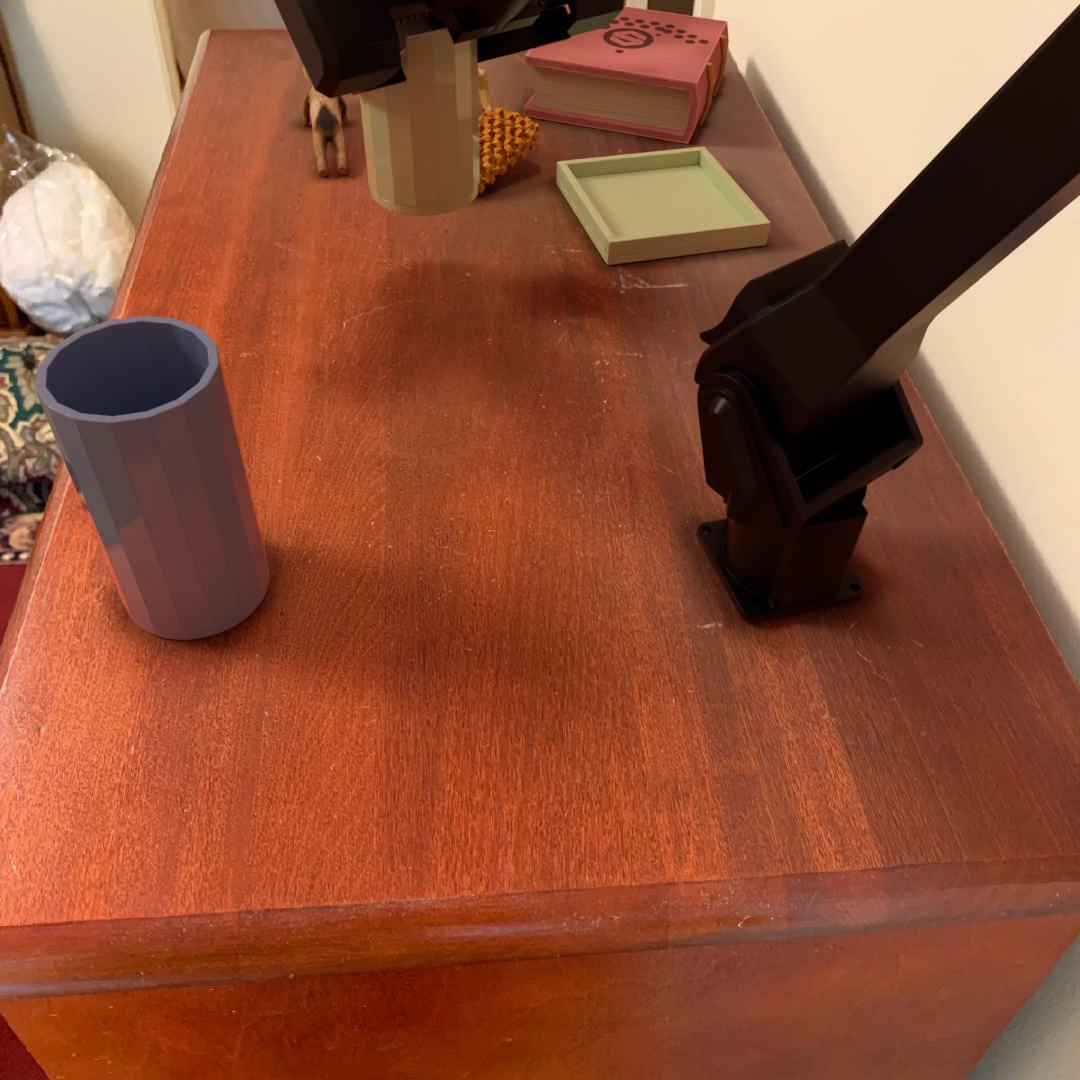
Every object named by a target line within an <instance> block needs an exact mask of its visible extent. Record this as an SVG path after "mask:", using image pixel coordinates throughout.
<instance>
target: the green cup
mask: <svg viewBox="0 0 1080 1080" xmlns="http://www.w3.org/2000/svg"><path fill="white" fill-rule="evenodd" d="M426 15H427V14H426ZM413 19H414V18H413ZM406 20H407V19H406ZM478 64H479V63H478V57H477V39H473V40H469V41H465V42H461V43H457V44H454V43H453V40H452V38H451V36H450V33H449V31H445V32H440V33H436V34H432V35H428V36H424V37H420V38H415V39H411V40H407V41H406V48H405V51H404V52H403V54H402V55H401V67H402V69H403V71H404V74H405V76H406V78H407V80H406V82H403V83H399V84H395V85H392V86H388V87H384V88H380V89H377V90H373V91H369V92H365V93H362V94H358V95H359V104H360V113H361V123H362V124H361V125H362V134H363V144H364V151H365V161H366V173H367V180H368V183H367V184H368V190H369V194H370V196H371V198H372V200H373V201H374V202H375V203H376V204H378V206H380V207H382V208H384V209H386V210H389V211H391V212H394V213H398V214H402V215H408V216H421V217H422V216H423V217H424V216H425V217H426V216H437V215H438V216H439V215H445V214H448V213H449V214H450V213H452V212H455V211H457V210H460V209H463V208H464V207H466V206H468V205H470V204H471V203H472V202H473V201H474V200H475V199H476V198H477V196H478V194H479V182H480V164H479V110H478V68H479V65H478Z"/></svg>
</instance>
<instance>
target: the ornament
mask: <svg viewBox="0 0 1080 1080" xmlns="http://www.w3.org/2000/svg"><path fill="white" fill-rule="evenodd" d="M491 101H492V100H491V92H490V85H489V82H488V77H487V72H486V69H482V68H480V67H478V110H479V164H480V182H479V192H478V194H482V193H483V192H484V191H485V189H486V187H485V184H489V185H490V186H491V185H493V184H494V183H495V181H496V176H498V175H500V176H503V175H504V174H505V173H506V172H507V166H508V167H509V166H510V167H511V168H513V167H514V165H515V164H516V163H517V159H518V158H519V159H521V158H524V157H525V156H526V155H527V149H530V150H532V151H534V150H535V148H536V147H537V145H538V142H537V140H539V139H541V138H542V133H541V132H540V126H539V124H538V123H537V122H534V120H532V119H531V117H527V116H523V115H521V114H520V113H519V112H517V111H514V110H506V109H504V108H503V107H497V106H495V108H494V110H492V102H491ZM513 123H514V124H513Z"/></svg>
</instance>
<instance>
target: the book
mask: <svg viewBox="0 0 1080 1080" xmlns="http://www.w3.org/2000/svg"><path fill="white" fill-rule="evenodd" d="M566 9H567V12H568V14H569V13H570V9H569V7H568V5H567V6H566ZM729 44H730V38H729V27H728V21H727V20H721V19H715V18H708V17H701V16H694V15H687V14H681V13H674V12H668V11H660V10H652V9H647V8H639V7H634V6H633V7H632V6H625V5H624V9H623V10H622V11H621V12H620V13H619V14H618V16H617V17H616V18H615V19H614V20H613V21H612V22H611V23H610V24H609V25H608V26H607V27H605V28H601V29H597V30H593V31H589V32H586V33H582V34H578V35H574V36H572V37H571V38H569V39H567V40H564V41H560V42H556V43H553V44H549V45H545V46H541V47H537V48H534V49H530V50H527V52H526V53H525V54H524V65H527V66H532V69H533V74H534V87H533V89H534V90H533V94H532V96H531V97H530V98H529V100H528V101H527V102H526V103H525V105H524V106H523V108H522V109H523V110H522V111H523V113H522V117H526V116H527V117H528V118H534V119H539V120H545V121H549V122H550V121H552V122H556V123H563V124H567V125H568V124H569V125H574V126H579V127H585V128H591V129H598V130H602V131H603V130H605V131H610V132H615V133H621V134H627V135H632V136H639V137H643V138H644V137H645V138H651V139H657V140H662V141H668V142H674V143H680V144H687V145H689V142H690V140H691V139H692V136H693V134H694V132H695V130H696V127H697V125H698V126H702V125H703V124H704V121H705V119H706V118H707V115H708V112H709V111H710V108H711V105H712V101H713V97H715V96H716V95H717V94H718V91H719V88H720V87H721V84H722V81H723V79H724V77H725V71H726V66H727V59H728V55H727V54H728V49H729Z"/></svg>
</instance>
